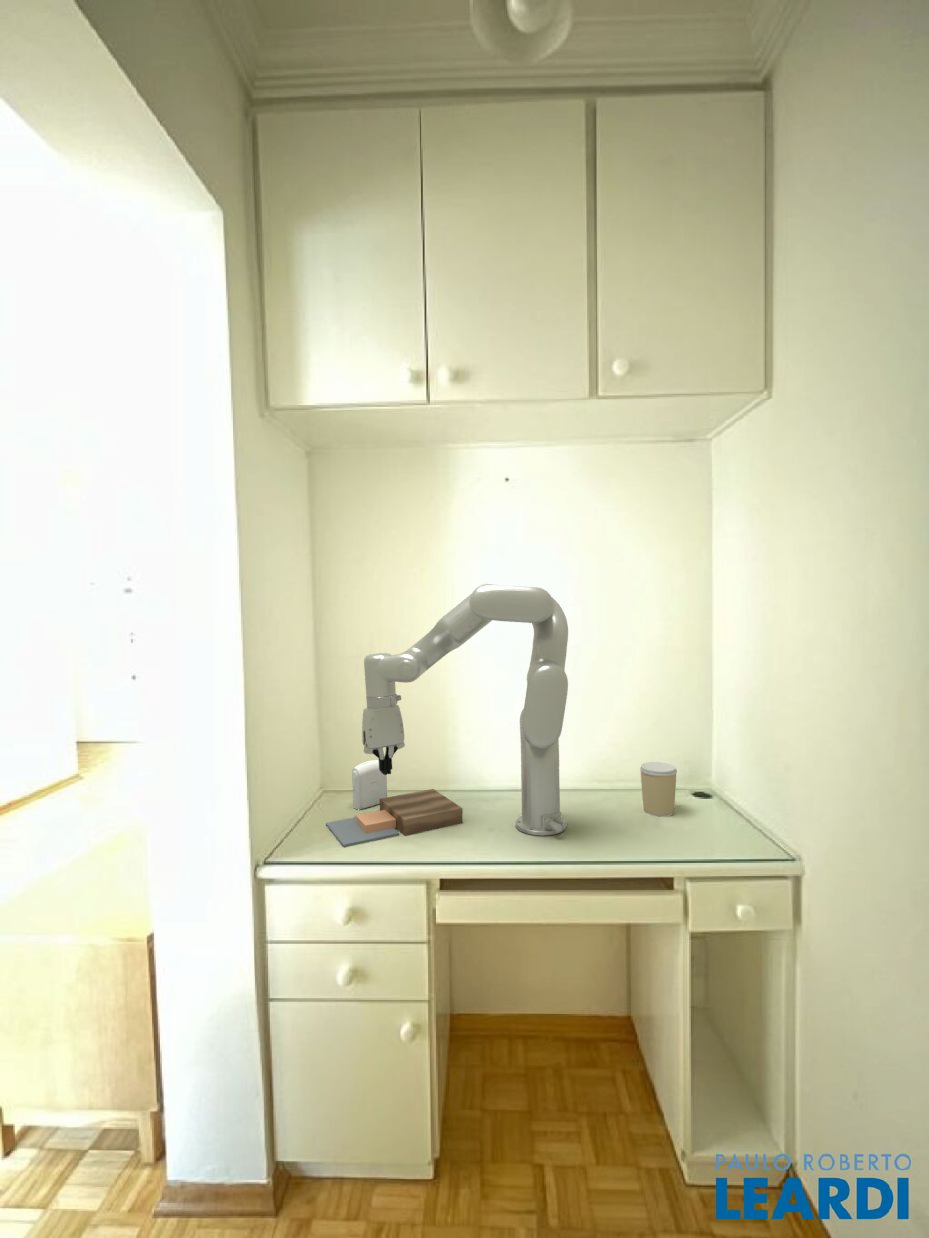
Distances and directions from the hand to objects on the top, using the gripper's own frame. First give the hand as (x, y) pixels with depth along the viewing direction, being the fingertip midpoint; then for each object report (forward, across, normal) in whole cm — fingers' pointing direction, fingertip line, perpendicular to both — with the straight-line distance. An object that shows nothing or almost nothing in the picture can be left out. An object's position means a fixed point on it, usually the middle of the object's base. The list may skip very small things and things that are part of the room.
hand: (386, 773), depth 154 cm
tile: (+13, +3, -1) cm, 13 cm away
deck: (+14, -9, -1) cm, 16 cm away
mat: (+13, +7, -1) cm, 15 cm away
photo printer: (+13, -1, -18) cm, 22 cm away
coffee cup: (+16, -66, +27) cm, 73 cm away
